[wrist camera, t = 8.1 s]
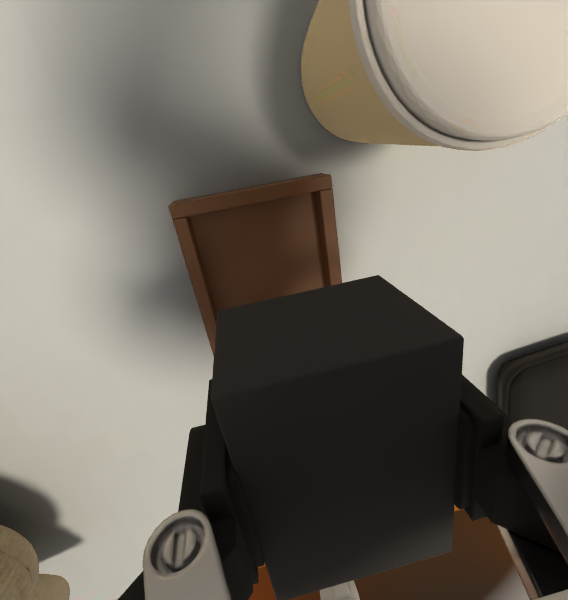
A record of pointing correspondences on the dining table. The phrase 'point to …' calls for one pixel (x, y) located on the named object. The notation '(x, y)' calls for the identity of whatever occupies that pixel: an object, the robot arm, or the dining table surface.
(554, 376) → the carrying case
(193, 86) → the dining table surface
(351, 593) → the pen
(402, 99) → the coffee cup
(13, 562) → the vase
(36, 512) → the dining table surface
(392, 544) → the pad
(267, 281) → the tray
